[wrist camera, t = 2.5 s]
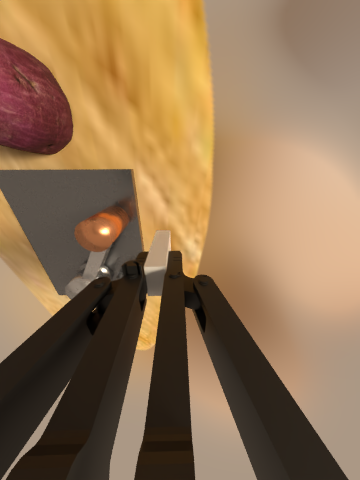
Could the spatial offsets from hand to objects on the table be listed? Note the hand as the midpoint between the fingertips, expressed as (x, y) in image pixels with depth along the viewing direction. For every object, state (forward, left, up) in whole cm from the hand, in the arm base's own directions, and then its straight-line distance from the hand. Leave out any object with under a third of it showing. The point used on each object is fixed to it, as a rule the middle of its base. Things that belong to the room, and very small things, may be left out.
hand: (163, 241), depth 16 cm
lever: (+7, -12, -8) cm, 16 cm away
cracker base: (+5, -15, -10) cm, 19 cm away
